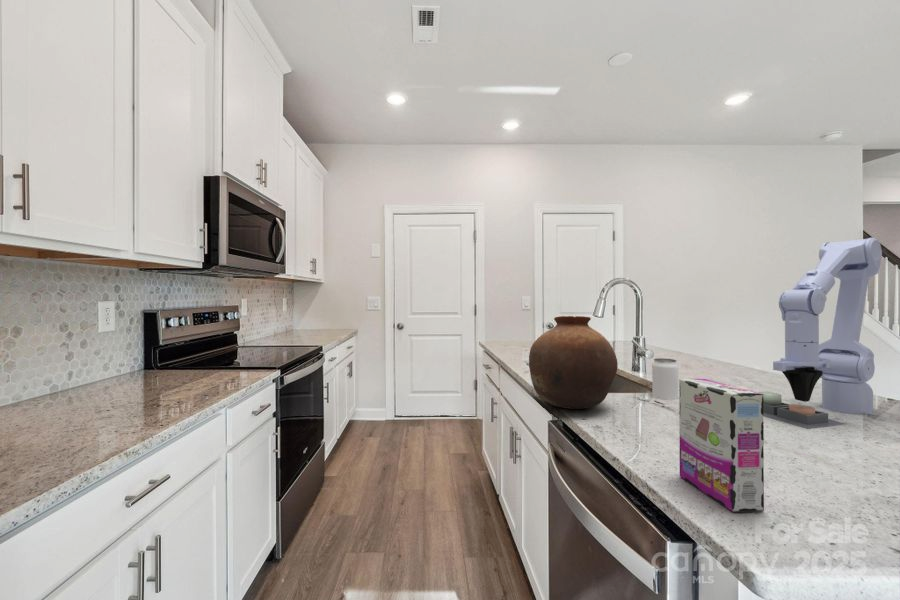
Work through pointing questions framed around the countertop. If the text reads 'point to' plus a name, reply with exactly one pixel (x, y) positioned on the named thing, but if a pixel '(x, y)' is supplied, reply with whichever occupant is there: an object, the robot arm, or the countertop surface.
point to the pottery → (572, 364)
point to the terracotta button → (802, 409)
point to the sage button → (771, 398)
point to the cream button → (744, 387)
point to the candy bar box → (723, 443)
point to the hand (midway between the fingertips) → (802, 400)
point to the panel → (798, 417)
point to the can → (665, 379)
